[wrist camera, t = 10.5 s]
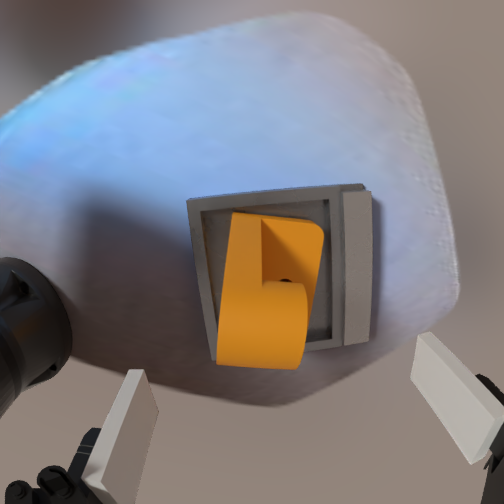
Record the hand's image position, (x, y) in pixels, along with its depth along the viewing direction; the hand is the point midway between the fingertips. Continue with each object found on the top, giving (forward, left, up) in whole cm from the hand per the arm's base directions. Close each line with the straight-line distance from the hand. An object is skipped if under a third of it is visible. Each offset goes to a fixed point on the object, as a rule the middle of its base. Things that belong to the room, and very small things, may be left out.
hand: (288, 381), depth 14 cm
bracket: (0, 0, -15) cm, 15 cm away
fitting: (+1, 0, -16) cm, 16 cm away
